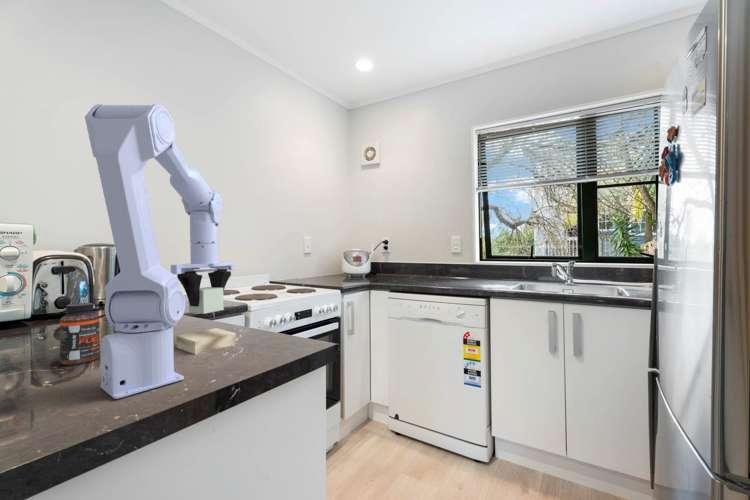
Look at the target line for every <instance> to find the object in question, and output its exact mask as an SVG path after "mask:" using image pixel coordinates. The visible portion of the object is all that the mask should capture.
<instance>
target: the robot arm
mask: <svg viewBox="0 0 750 500" xmlns="http://www.w3.org/2000/svg"><path fill="white" fill-rule="evenodd" d="M84 120H85V124H86V129H87V132H88V133H87V134H88V139H89V144H90V147H91V151H92V156H93V157H94V158H95V161H96V164H97V169H98V173H99V178H100V183H101V187H102V193H103V197H104V201H105V206H106V210H107V211H106V212H107V216H108V220H109V225H110V229H111V234H112V239H113V242H114V243H113V244H114V249H115V252H116V253H115V254H116V257H117V262H118V267H119V270H120V272H119V273H118V274H116V275H115V276H114V277H113V278H112V279H111V280H110V281H108V283H107V284H106V285H105V286H104V288H103V289H104V293H105V302H104V303H105V304H104V313H105V314H104V315H105V317H106V320H107V321H108V322H109V324H110V325H112V326H114V331H115V333H110V334H106V335H104V336H103V337H102V338H101V340H100V341H101V342H100V384H99V387H100V388H101V389H102V390H103V391H104V392H105V393H107V394H108V395H109V396H110V397H112V398H113V399H115V400H119V399H122V398H126V397H129V396H132V395H136V394H138V393H142V392H145V391H150V390H152V389H155V388H160V387H164V386H165V385H166V386H167V385H169V384H173V383H176V382H180V381H183V380H184V379H185V376H184V375H181V374H180V373H178V372H176V371H175V360H174V359H175V358H174V357H175V356H174V355H175V354H174V353H175V351H174V350H175V349H174V326H176V325H178V322H179V321H180V320H181V319H182V317H183V316H184V313H185V311H186V297H185V294H184V292H183V290H184V291H185V293H186V296H187V299H188V300H187V301H188V305H189V304H190V306H194V307H196V306H199V291H200V288H201V283H202V279H203V274H198V273H205V272H207V275H208V279H209V283H210V287H216V288H223V292H225V288H226V286H227V284H228V281H229V279H230V277H231V276H232V271H235V270H236V269H235V268H236V267H235V266H236V265H235V261H224V262H223V261H220V253H219V252H220V251H219V250H220V247H219V246H220V245H219V243H220V242H219V241H220V240H219V224H220V223H221V217H222V214H223V213H222V212H223V207H224V206H223V200H222V196H221V195H220V193H219V192H216V190H212V189H211V188H210V187H209V185H208V183H207V182H206V181H205V179H204V177H203V176H202V175H201V174H200V172H199V170H198V169H197V168H195V167H193V166H189V165H188V163H187V162H186V160H185V158H184V157H183V155H182V153H181V151H180V149H179V148H178V145H177V144H176V129H175V123H174V120H173V117H172V116H171V114H170V112H169V110H167V108H165V107H164V106H163V105H162V104H159V103H155V104H151V105H150V104H145V105H144V104H135V105H134V104H105V103H98V104H95V105H93V106H92V107H91V108H90V110H89V111H88V112H87V113H86V114H85V115H84ZM151 159H154V160H156V162H157V163H158V164H159V165H160V166H161V167H162V168H163V169H164V170H166V172H167V173H168V174H169V175H170V176H169V177H170V178H169V183H170V186H171V187H172V188H173V189H174V190H175V191H176V192H177V194H178V195H179V196H180V197H181V203H182V204H183V207H184V211H185V213H186V214H187V215H188V216H189V242H190V243H189V245H190V251H189V253H190V263H180V264H178V263H177V264H170V270H168V269H166V268H165V267H163V266H162V265H161V263H160V257H159V251H158V247H157V246H158V245H157V240H156V236H155V235H156V234H155V230H154V229H155V228H154V223H153V218H152V213H151V207H150V202H149V197H148V191H147V186H146V181H145V180H146V179H145V174H144V167H145V166H146V165H147V162H148V161H149V160H151ZM201 268H202V269H201ZM204 268H205V269H204ZM206 268H207V269H206ZM179 282H180V283H179ZM180 284H181V286H182V287H183V290H182V288H181V286H180Z"/></svg>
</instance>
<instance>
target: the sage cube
mask: <svg viewBox="0 0 750 500" xmlns="http://www.w3.org/2000/svg"><path fill="white" fill-rule="evenodd" d="M224 305H225V304H224V291H223V288H216V287H211V286H207V287H200V291H199V306H196V307H194V306H190V304H189V303H188V313H195V314H209V313H214V312H220V311H224V310H225V309H224Z"/></svg>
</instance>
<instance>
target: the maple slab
mask: <svg viewBox="0 0 750 500" xmlns="http://www.w3.org/2000/svg"><path fill="white" fill-rule="evenodd" d="M234 344H236V345H237V333H236V332H232V331H230V330H226V329H222V328H217V327H215V328H210V329H209V328H208V329H204V330H199V331H193V332H189V333H183V334H177V335H176V348H177V349H180V350H182V351H185V352H188V353H190V354H193V355H200V354H203V353H206V352H211V351H215V350H219V348H220V349H222V348H223V347H224V348H228V347H232V346H235V345H234ZM231 345H232V346H231ZM227 346H228V347H227Z"/></svg>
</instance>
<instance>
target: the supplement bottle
mask: <svg viewBox="0 0 750 500" xmlns="http://www.w3.org/2000/svg"><path fill="white" fill-rule="evenodd" d="M93 309H94V304H93V302H77V303H70V304H66V313H65V314H64V315H63V316H62V317H61V318H60V320H59V363H60V364H61V365H65V366H75V365H82V364H86V363H90V362H93V361H96V360H97V359H99V357H100V354H101V350H100V349H101V346H100V316H99V314H98V313H96V312H95V311H94V310H93Z"/></svg>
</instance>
